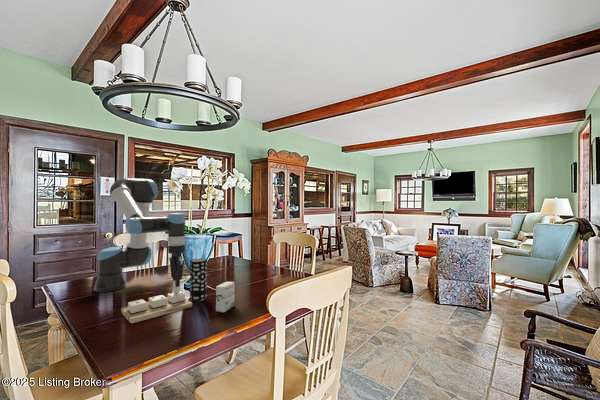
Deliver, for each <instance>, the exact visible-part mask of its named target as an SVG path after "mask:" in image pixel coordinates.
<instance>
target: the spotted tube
mask: <svg viewBox="0 0 600 400" xmlns="http://www.w3.org/2000/svg"><path fill="white" fill-rule="evenodd" d="M189 262H190V264H189V267H190V268H189V272H190V273H189V301H190V302H201V301H204V300H207V298H208V259H207V258H194V259H190V261H189Z"/></svg>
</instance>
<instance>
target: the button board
mask: <svg viewBox="0 0 600 400" xmlns="http://www.w3.org/2000/svg"><path fill="white" fill-rule="evenodd" d="M166 298H167V305H163V306H159V307H155V308H152V307H151V306H150V305H149V301H146V302H147V310H143V311H139V312H135V313H131V312H130V311H129V310H128V306H125V307H121V308H120V313H121V314H122V316H124V317H125V319H126V320H127V322H129V323H131V324H135V323H139V322H142V321H145V320H150V319H153V318H157V317H160V316H163V315H168V314H171V313H176V312H178V311H182V310H186V309H190V308H193V301H191V300H190V299H187V298H185V300H183V301H179V302H175V303H171V302H170V301H168V296H167V297H166Z"/></svg>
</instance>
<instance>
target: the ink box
mask: <svg viewBox="0 0 600 400" xmlns="http://www.w3.org/2000/svg"><path fill="white" fill-rule="evenodd" d="M235 285H236V284H235V282H234V281H225V282H223V283H221V284H218V285H216V286H215V312H219V313H225V312H227V311H228V310H230V309H232V308H234V307H235V305H236V304H235V301H236V300H235V298H236V297H235V295H236V294H235V287H236V286H235Z"/></svg>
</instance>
